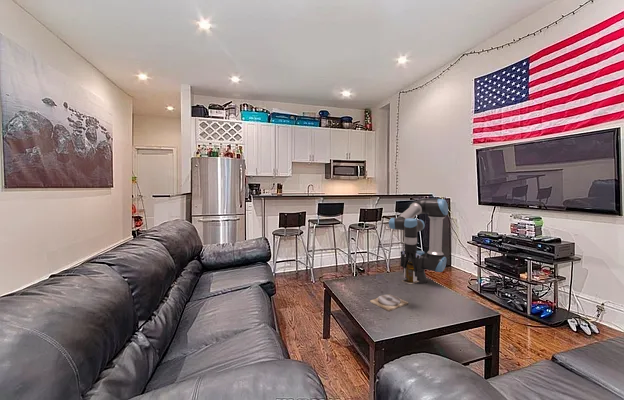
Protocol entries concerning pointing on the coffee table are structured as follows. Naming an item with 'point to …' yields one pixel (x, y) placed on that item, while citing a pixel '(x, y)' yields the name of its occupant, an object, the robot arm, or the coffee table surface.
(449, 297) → the coffee table surface
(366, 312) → the coffee table surface
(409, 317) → the coffee table surface
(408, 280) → the condiment
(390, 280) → the coffee table surface
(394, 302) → the board
